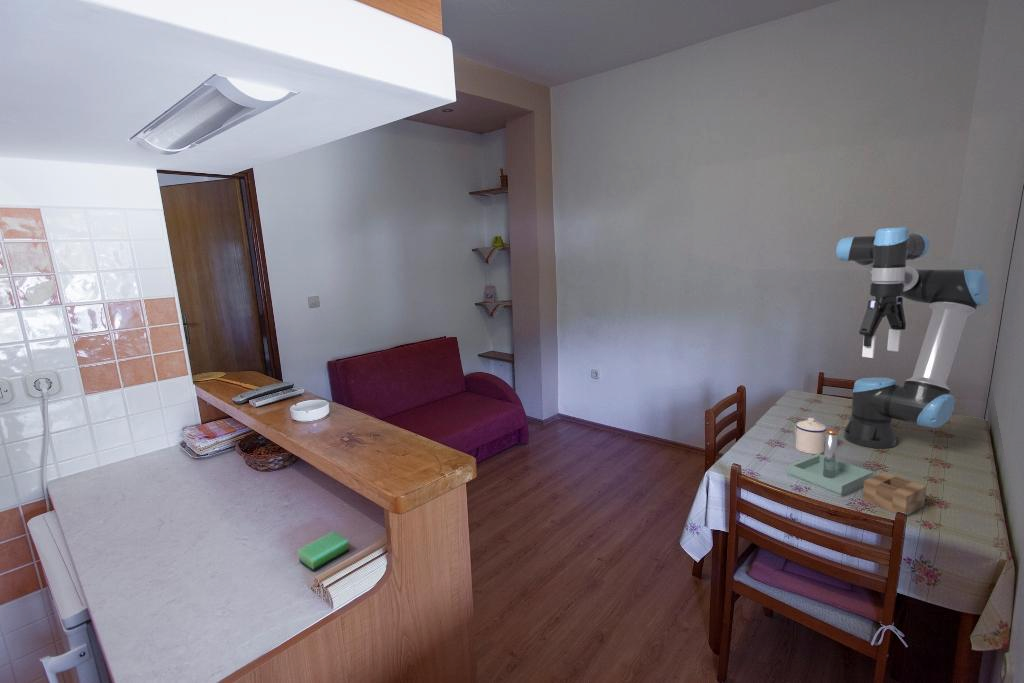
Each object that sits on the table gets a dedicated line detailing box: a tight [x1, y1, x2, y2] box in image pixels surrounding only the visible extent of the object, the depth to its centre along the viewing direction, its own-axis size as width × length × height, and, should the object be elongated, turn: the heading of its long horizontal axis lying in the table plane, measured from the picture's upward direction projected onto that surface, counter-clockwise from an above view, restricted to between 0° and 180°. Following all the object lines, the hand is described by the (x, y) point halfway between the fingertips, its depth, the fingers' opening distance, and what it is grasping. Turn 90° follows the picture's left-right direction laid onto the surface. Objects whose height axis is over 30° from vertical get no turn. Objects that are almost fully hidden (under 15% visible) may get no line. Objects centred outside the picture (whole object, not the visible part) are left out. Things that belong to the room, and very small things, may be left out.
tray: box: [786, 453, 874, 498], centre depth 144 cm, size 16×16×4 cm
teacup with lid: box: [794, 417, 828, 455], centre depth 165 cm, size 12×9×12 cm
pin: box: [823, 427, 839, 478], centre depth 142 cm, size 3×3×15 cm
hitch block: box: [861, 471, 927, 517], centre depth 128 cm, size 10×10×6 cm
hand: (880, 354), depth 138 cm, fingers open, 13 cm apart
